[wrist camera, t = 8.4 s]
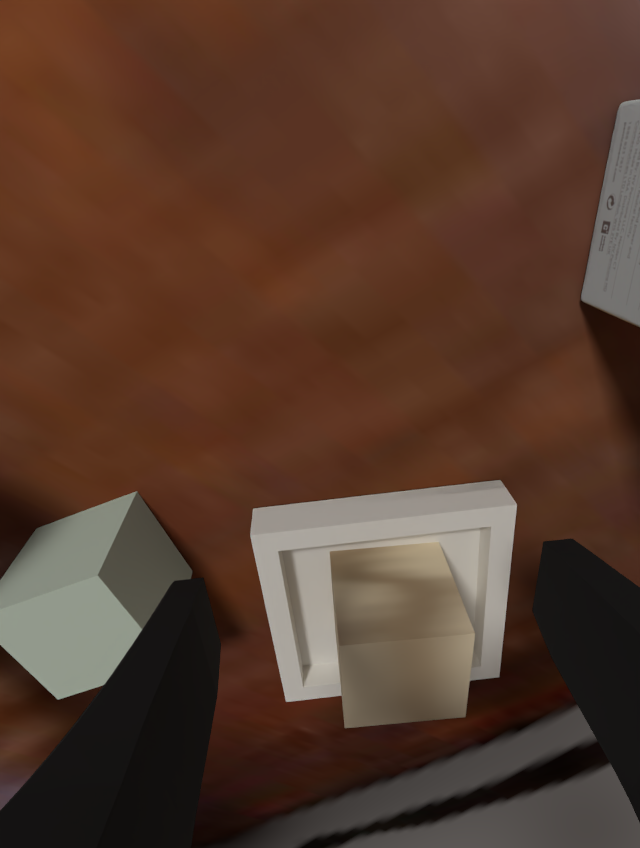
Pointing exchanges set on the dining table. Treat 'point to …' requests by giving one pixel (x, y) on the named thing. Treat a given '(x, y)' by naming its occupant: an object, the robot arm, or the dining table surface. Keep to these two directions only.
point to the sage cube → (86, 593)
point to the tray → (367, 528)
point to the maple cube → (400, 635)
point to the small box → (618, 225)
